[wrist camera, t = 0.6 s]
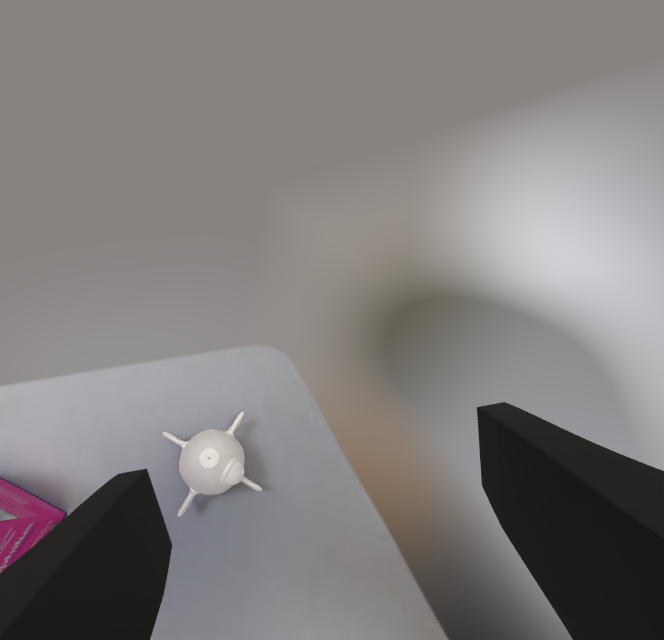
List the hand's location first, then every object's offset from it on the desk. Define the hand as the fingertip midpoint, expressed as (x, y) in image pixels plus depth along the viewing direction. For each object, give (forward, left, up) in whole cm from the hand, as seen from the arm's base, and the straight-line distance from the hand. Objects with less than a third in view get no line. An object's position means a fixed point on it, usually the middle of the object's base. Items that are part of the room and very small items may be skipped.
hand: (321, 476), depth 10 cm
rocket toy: (+2, +3, -26) cm, 26 cm away
